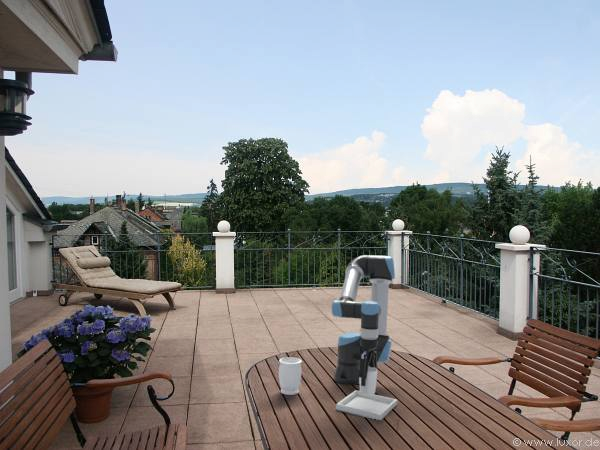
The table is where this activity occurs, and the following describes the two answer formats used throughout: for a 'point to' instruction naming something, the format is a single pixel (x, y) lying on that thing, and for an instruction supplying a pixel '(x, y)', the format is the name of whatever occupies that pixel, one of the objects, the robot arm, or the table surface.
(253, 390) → the table surface
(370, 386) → the white cup
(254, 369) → the table surface
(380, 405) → the grey tray
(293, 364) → the jar
